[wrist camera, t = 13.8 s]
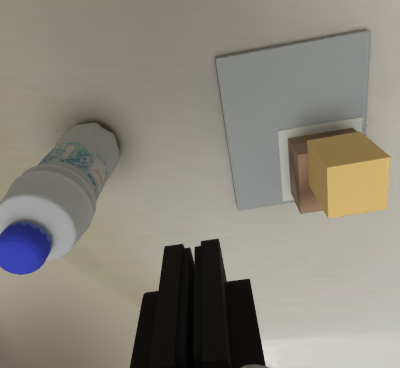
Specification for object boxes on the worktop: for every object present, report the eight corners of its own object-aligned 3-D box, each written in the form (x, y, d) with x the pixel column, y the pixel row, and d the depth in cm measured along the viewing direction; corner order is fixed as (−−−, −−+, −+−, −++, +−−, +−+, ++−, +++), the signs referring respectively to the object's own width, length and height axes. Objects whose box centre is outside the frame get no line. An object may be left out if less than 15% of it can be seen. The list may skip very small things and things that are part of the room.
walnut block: (287, 138, 38) (297, 154, 34) (352, 127, 38) (370, 143, 34) (290, 192, 41) (300, 213, 37) (350, 183, 41) (367, 203, 37)
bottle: (120, 176, 42) (63, 306, 24) (63, 164, 41) (-38, 289, 23) (128, 123, 39) (69, 229, 21) (67, 109, 38) (-47, 207, 20)
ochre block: (306, 140, 34) (327, 167, 28) (359, 131, 33) (390, 157, 28) (308, 185, 36) (328, 218, 31) (358, 177, 35) (386, 209, 30)
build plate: (215, 57, 35) (215, 59, 34) (365, 29, 34) (371, 30, 33) (236, 205, 44) (238, 211, 43) (358, 187, 43) (363, 192, 41)
